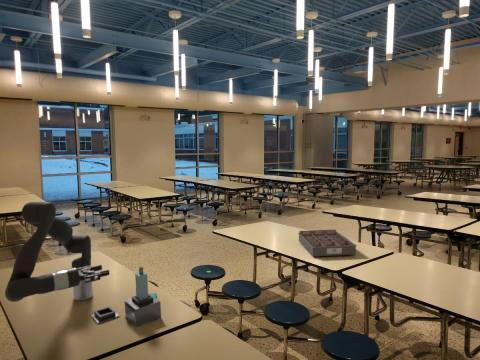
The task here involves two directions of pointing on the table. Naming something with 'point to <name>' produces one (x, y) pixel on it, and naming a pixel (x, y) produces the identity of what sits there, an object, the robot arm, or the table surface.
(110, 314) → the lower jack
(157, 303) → the box with square opening
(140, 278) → the plug
